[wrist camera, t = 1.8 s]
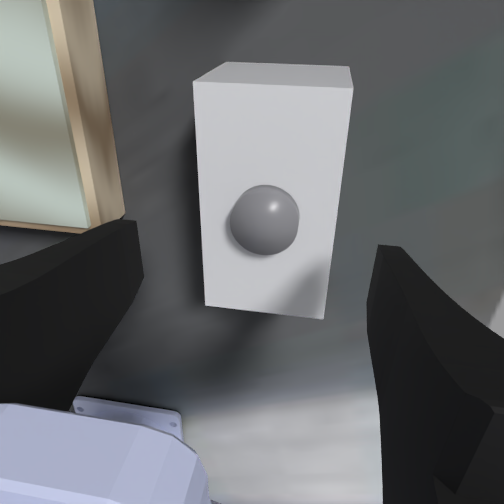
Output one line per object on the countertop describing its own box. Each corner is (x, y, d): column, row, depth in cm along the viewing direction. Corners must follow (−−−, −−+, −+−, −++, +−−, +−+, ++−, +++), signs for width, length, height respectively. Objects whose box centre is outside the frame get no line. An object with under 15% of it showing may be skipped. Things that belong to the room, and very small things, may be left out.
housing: (325, 256, 22) (323, 332, 17) (230, 247, 22) (200, 317, 17) (348, 65, 17) (354, 93, 12) (226, 61, 18) (185, 85, 13)
